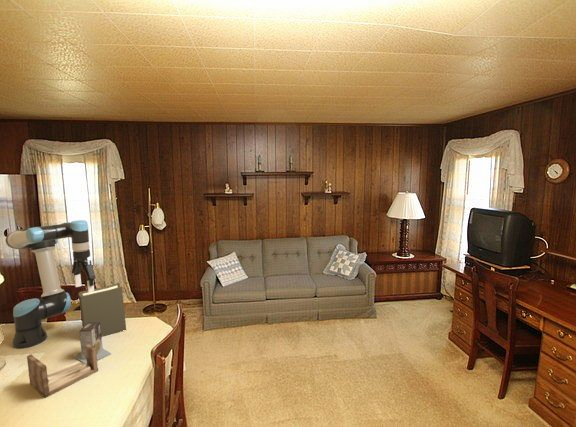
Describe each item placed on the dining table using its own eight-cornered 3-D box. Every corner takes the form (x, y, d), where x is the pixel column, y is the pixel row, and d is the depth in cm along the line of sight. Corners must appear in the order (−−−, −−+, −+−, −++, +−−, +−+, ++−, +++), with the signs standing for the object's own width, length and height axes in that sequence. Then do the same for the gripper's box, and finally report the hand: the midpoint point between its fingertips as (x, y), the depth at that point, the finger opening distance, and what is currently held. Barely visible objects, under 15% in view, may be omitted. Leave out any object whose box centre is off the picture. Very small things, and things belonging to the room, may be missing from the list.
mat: (73, 357, 164) (73, 355, 164) (97, 346, 174) (97, 345, 174) (87, 365, 157) (86, 364, 157) (111, 354, 167) (111, 353, 167)
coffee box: (90, 349, 170) (88, 321, 168) (103, 349, 171) (100, 321, 168) (81, 359, 161) (78, 330, 159) (94, 359, 162) (91, 329, 159)
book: (84, 342, 179) (79, 296, 175) (83, 335, 187) (78, 291, 183) (126, 330, 192) (121, 287, 188) (123, 324, 200) (119, 282, 195)
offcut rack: (30, 384, 143) (26, 356, 141) (82, 360, 161) (80, 334, 160) (45, 398, 135) (41, 367, 133) (98, 370, 153) (96, 344, 151)
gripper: (101, 251, 160) (104, 291, 163) (77, 245, 173) (80, 282, 176) (85, 255, 154) (88, 296, 157) (62, 248, 167) (65, 286, 170)
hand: (84, 289), depth 167 cm, fingers open, 13 cm apart
